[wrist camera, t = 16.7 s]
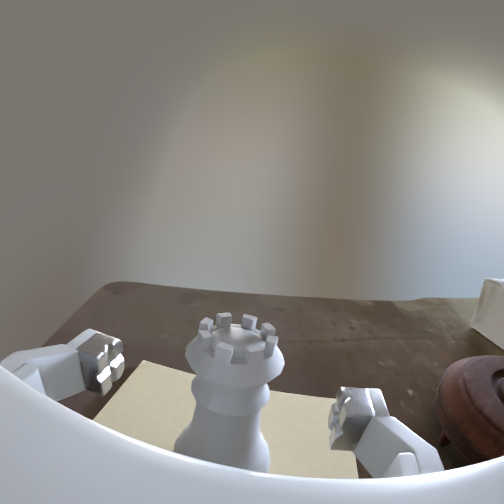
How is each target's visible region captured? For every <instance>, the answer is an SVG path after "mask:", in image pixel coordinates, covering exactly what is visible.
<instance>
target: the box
mask: <svg viewBox="0 0 504 504" xmlns="http://www.w3.org/2000/svg"><path fill="white" fill-rule="evenodd" d="M471 326H472V327H473V328H474V329H475V330H477V331H478V332H480V333H481V334H482V335H484V336H485V337H486V338H488V339H489V340H491V341H492V342H493V343H495V344H496V345H497V346H499V347H500V348H501V349H503V350H504V279H494V278H486V279H485V281H484V283H483V286H482V289H481V292H480V296H479V299H478V302H477V305H476V308H475V311H474V314H473V317H472V320H471Z"/></svg>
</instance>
